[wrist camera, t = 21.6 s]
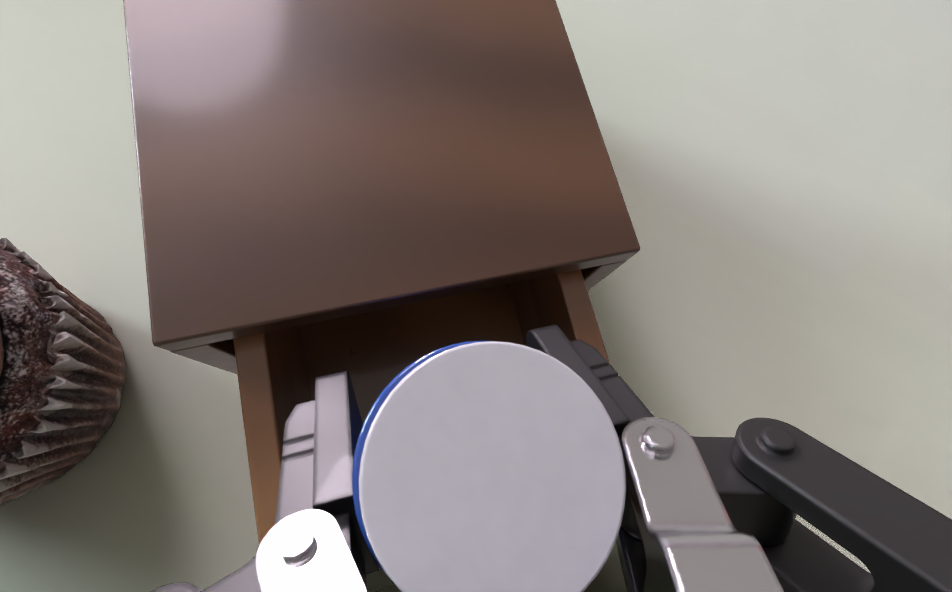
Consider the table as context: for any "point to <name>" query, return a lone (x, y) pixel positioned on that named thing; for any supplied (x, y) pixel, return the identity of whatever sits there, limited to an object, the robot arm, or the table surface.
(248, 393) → the drawer
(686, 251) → the table surface
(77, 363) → the cupcake
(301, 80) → the cabinet
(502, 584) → the pepper shaker
